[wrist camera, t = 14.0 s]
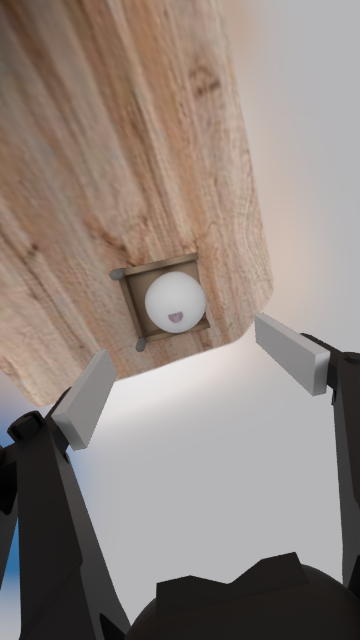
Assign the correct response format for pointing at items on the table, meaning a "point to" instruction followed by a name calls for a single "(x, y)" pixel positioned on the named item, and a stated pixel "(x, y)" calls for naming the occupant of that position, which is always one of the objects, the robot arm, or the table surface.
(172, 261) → the keeper
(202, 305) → the ornament
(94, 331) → the table surface
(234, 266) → the table surface
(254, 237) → the table surface
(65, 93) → the table surface
